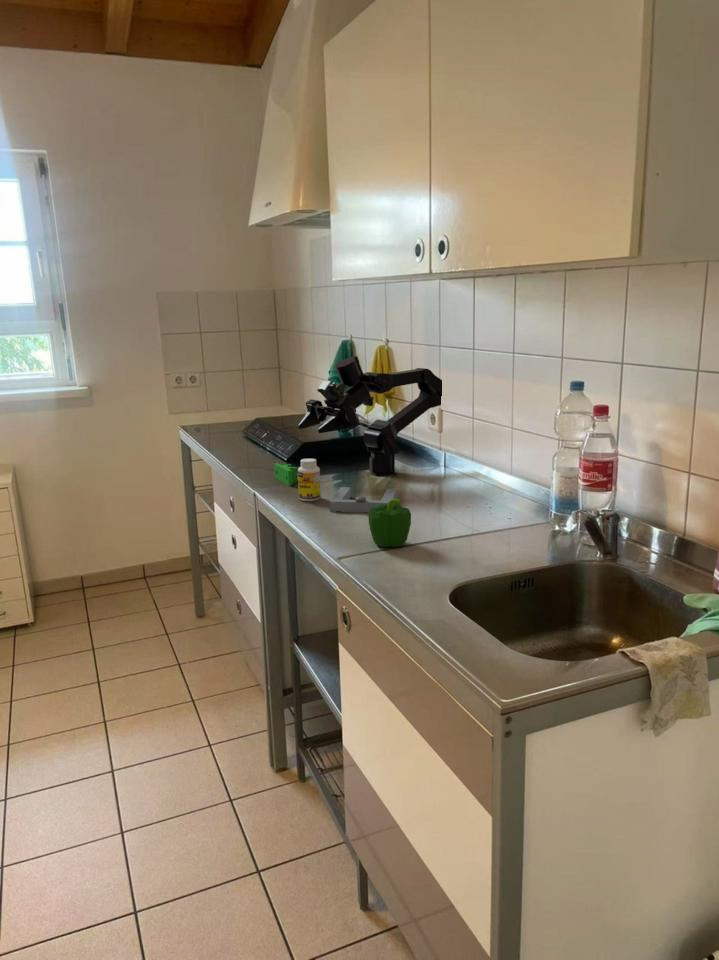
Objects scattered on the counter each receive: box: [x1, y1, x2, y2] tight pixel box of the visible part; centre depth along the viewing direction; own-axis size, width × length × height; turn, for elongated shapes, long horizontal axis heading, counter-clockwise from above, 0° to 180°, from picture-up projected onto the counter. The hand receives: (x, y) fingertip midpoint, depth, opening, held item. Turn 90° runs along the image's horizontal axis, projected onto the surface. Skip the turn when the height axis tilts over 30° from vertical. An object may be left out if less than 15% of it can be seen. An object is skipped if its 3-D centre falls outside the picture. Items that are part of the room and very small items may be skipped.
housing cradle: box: [329, 486, 398, 513], centre depth 178 cm, size 14×14×3 cm
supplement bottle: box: [297, 458, 321, 502], centre depth 184 cm, size 6×6×10 cm
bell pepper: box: [367, 498, 412, 548], centre depth 147 cm, size 8×8×10 cm
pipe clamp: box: [273, 462, 298, 487], centre depth 203 cm, size 11×4×5 cm, turn 26°
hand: (308, 429), depth 193 cm, fingers open, 9 cm apart
